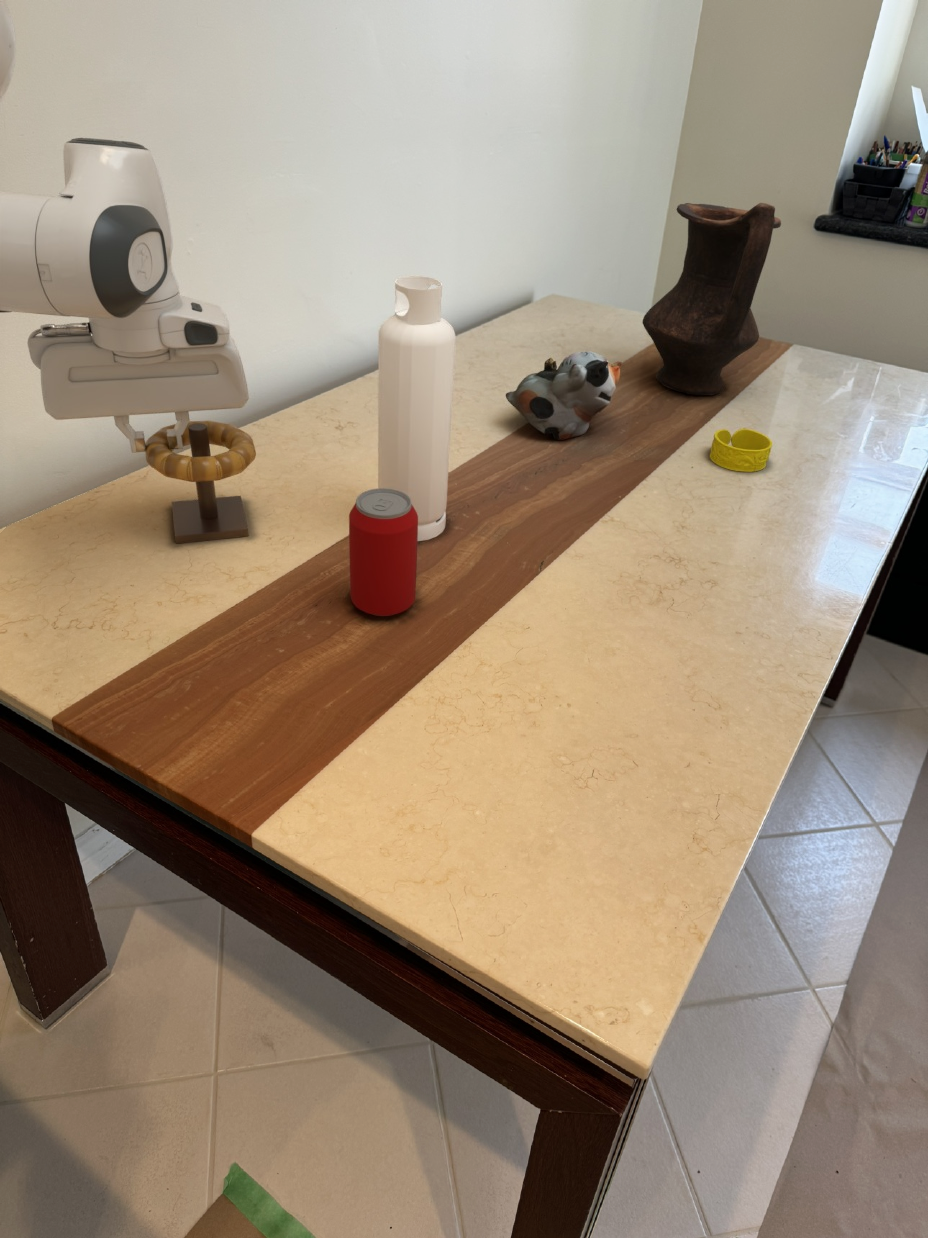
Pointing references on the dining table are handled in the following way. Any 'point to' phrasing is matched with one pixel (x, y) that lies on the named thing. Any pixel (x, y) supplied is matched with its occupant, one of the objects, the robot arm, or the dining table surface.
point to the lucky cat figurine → (566, 394)
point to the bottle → (416, 401)
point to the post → (207, 504)
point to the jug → (711, 296)
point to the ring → (206, 466)
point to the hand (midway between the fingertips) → (157, 448)
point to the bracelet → (740, 450)
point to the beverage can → (383, 552)
